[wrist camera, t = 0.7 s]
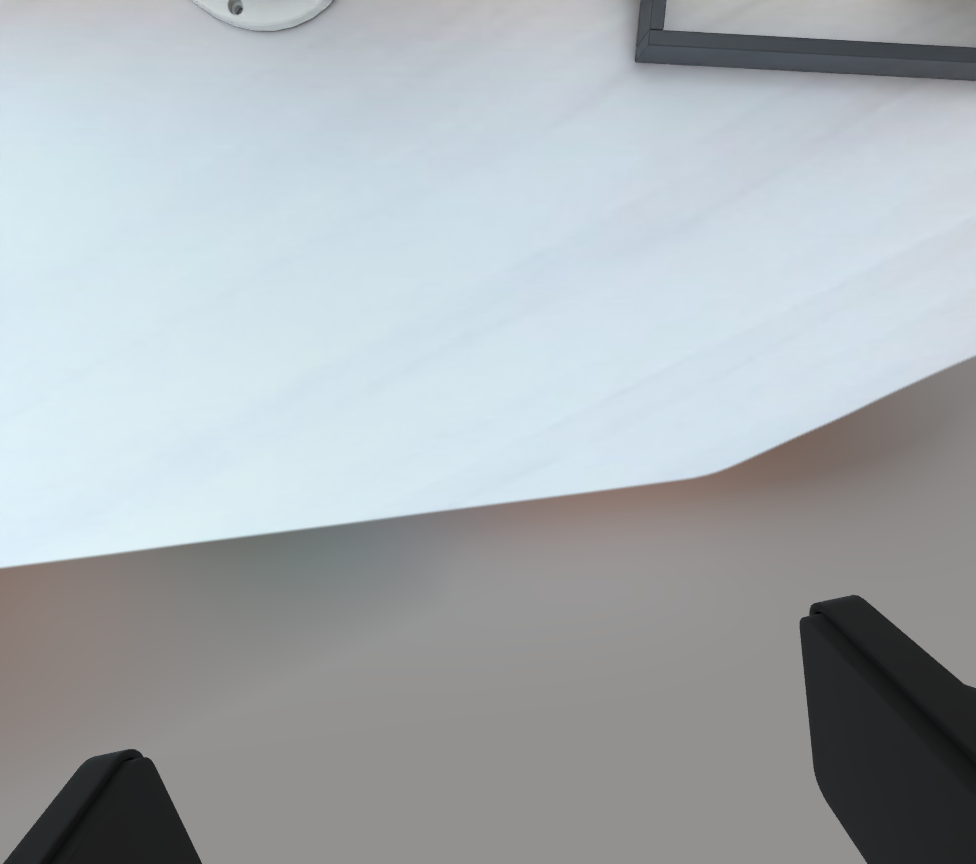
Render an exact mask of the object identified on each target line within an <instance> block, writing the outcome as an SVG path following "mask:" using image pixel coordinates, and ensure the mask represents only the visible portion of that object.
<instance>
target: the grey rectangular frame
mask: <svg viewBox="0 0 976 864" xmlns="http://www.w3.org/2000/svg"><path fill="white" fill-rule="evenodd" d="M665 8H666V0H641V2H640V13H639V23H638V34H637V44H636V47H637V48H636V55H635V62H642V63H660V64H679V65H697V66H716V67H734V68H753V69H771V70H790V71H808V72H826V73H845V74H863V75H882V76H900V77H919V78H937V79H956V80H974V81H976V48H971V47H953V46H935V45H917V44H900V43H882V42H864V41H846V40H828V39H810V38H792V37H774V36H757V35H739V34H721V33H703V32H685V31H667V30H663V27H664V18H665Z"/></svg>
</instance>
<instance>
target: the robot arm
mask: <svg viewBox="0 0 976 864" xmlns="http://www.w3.org/2000/svg"><path fill="white" fill-rule="evenodd" d="M192 1H193V2H194V3H196V4H197V5H198V6H199V7H201V8H202V9H204V10H205V11H207V12H208V13H210V14H211V15H212V16H214V17H215V18H218V19H220V20H222V21H224V22H227V23H229V24H231V25H233V26H237V27H241V28H245V29H250V30H254V31H276V30H281V29H286V28H291V27H295V26H297V25H299V24H301V23H303V22H305V21H308V20H310V19H312V18H313V17H315V16H316V15H317V14H318V13H320V12H321V11H322V10H324V9H325V8H326V7H328V6H329V4H330V3H331V2H332V1H333V0H192ZM240 8H243V10H242V13H240V14H239V15H238V14H237V12H238V10H239V9H240ZM800 635H801V645H802V656H803V665H804V675H805V685H806V695H807V706H808V716H809V725H810V735H811V746H812V755H813V765H814V772H815V776H816V780H817V783H818V785H819V788H820V790H821V792H822V794H823V796H824V798H825V800H826V801H827V803H828V804H829V806H830V808H831V809H832V811H833V812H834V814H835V815H836V817H837V818H838V820H839V821H840V823H841V824H842V826H843V827H844V829H845V830H846V832H847V833H848V835H849V836H850V838H851V839H852V841H853V842H854V844H855V846H856V847H857V848H858V850H859V851H860V853H861V855H862V856H863V857H864V859H865V861H866V862H867V864H976V688H974V687H971V686H967V685H965V684H963V683H962V682H961V681H960V680H958V679H957V678H956V677H955V676H954V675H952V674H951V673H950V672H949V671H948V670H947V669H945V668H944V667H943V666H942V665H941V664H940V663H938V662H937V661H936V660H935V659H934V658H933V657H931V656H930V655H929V654H928V653H927V652H925V651H924V650H923V649H922V648H921V647H920V646H918V645H917V644H916V643H915V642H914V641H913V640H911V639H910V638H909V637H908V636H907V635H906V634H904V633H903V632H902V631H901V630H900V629H899V628H897V627H896V626H895V625H894V624H893V623H891V622H890V621H889V620H888V619H887V618H885V617H884V616H883V615H882V614H881V613H880V612H879V611H877V610H876V609H875V608H874V607H872V606H871V605H870V604H869V603H868V602H867V601H865V600H864V599H863V598H861V597H859V596H856V595H851V596H846V597H842V598H837V599H832V600H828V601H823V602H818V603H814V604H813V605H811V608H810V616H807V617H803V618H801V620H800ZM3 864H202V863H201V861H200V858H199V856H198V854H197V852H196V850H195V848H194V846H193V844H192V842H191V840H190V838H189V836H188V834H187V832H186V829H185V827H184V825H183V823H182V821H181V819H180V817H179V815H178V813H177V811H176V809H175V807H174V804H173V802H172V801H171V798H170V796H169V794H168V792H167V790H166V788H165V786H164V784H163V782H162V780H161V778H160V775H159V773H158V771H157V769H156V767H155V765H154V763H153V762H152V761H151V760H150V759H149V758H147V757H145V758H144V757H143V756H142V754H141V753H140V752H139V751H137V750H135V749H128V750H123V751H118V752H114V753H109V754H104V755H100V756H95V757H92V758H90V759H88V760H86V761H85V762H84V763H83V764H82V765H81V766H80V767H79V769H78V770H77V771H76V772H75V774H74V775H73V776H72V777H71V779H70V780H69V781H68V782H67V784H66V785H65V786H64V787H63V789H62V790H61V791H60V793H59V794H58V795H57V796H56V798H55V799H54V800H53V801H52V803H51V804H50V805H49V806H48V808H47V809H46V810H45V812H44V813H43V814H42V815H41V817H40V818H39V819H38V820H37V822H36V823H35V824H34V825H33V827H32V828H31V829H30V830H29V832H28V833H27V834H26V835H25V837H24V838H23V839H22V840H21V842H20V843H19V844H18V846H17V847H16V848H15V850H14V851H13V852H12V853H11V854H10V856H9V857H8V859H7V860H6V861H5V862H4V863H3Z"/></svg>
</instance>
